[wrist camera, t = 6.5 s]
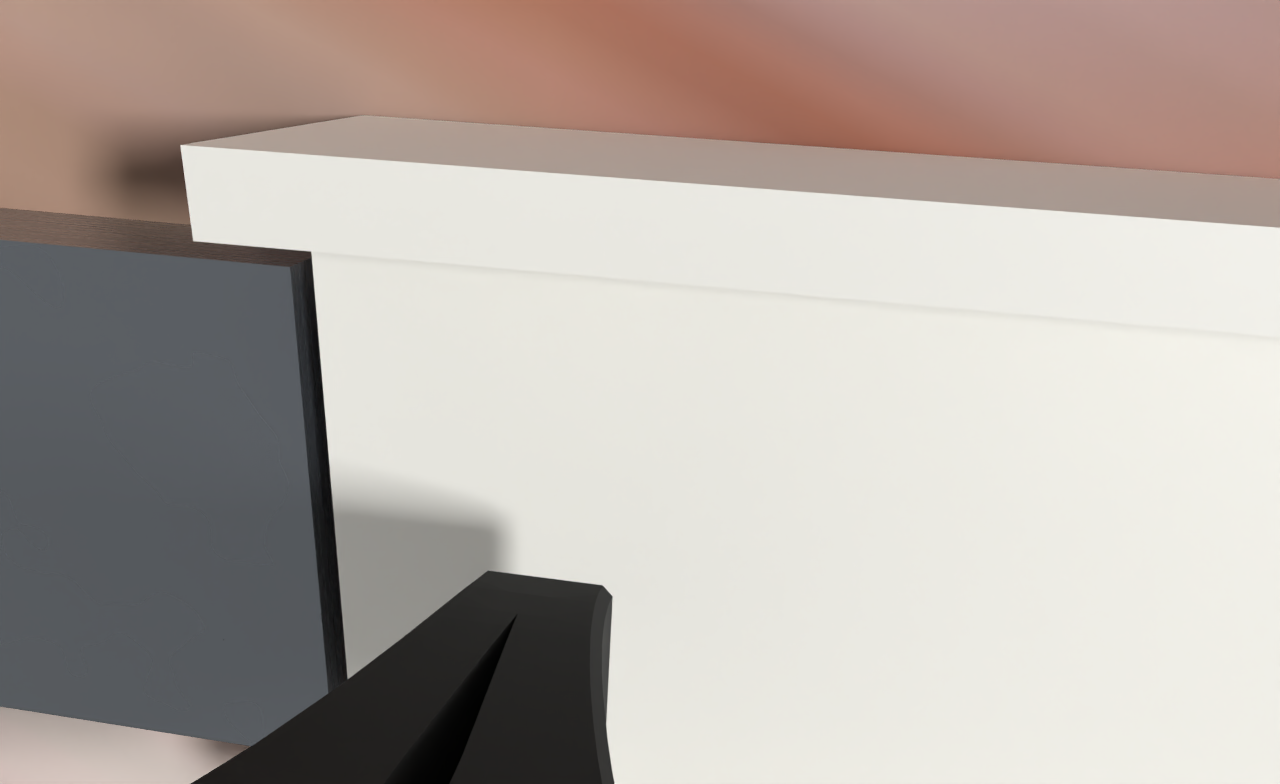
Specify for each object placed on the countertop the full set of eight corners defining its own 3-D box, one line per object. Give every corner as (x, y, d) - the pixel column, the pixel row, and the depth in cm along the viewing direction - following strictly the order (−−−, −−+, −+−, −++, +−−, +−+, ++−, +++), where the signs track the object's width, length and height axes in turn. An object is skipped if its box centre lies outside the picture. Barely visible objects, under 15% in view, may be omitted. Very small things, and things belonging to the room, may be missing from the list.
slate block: (391, 666, 14) (334, 759, 12) (-59, 601, 15) (-175, 678, 13) (366, 232, 12) (289, 266, 10) (-174, 184, 12) (-340, 207, 11)
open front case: (1574, 946, 12) (1857, 1267, 9) (401, 764, 14) (291, 975, 11) (2028, 230, 9) (2782, 340, 5) (363, 115, 11) (179, 145, 7)
